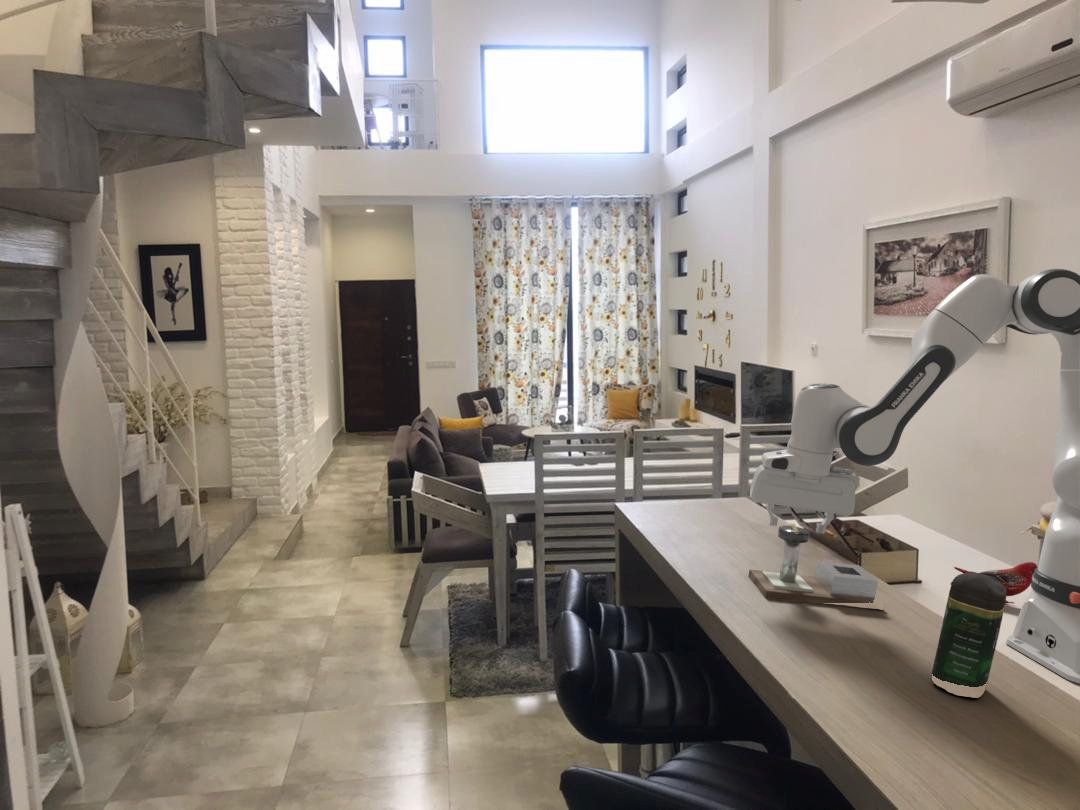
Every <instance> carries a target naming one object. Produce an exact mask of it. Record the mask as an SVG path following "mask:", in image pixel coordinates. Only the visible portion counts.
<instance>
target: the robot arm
mask: <svg viewBox="0 0 1080 810" xmlns="http://www.w3.org/2000/svg"><path fill="white" fill-rule="evenodd" d="M1004 327H1006V328H1009V329H1012V330H1015V331H1017V332H1020V333H1023V334H1027V335H1035V336H1036V335H1046V334H1048V335H1049V334H1051V335H1052V336H1053V337H1054V338H1055V339H1056V341H1057V343H1058V346H1059V350H1060V353H1061V356H1060V368H1059V369H1060V370H1059V371H1060V375H1059V376H1060V377H1059V379H1060V380H1059V381H1060V382H1059V383H1060V384H1059V385H1060V387H1059V418H1058V424H1057V430H1056V436H1055V447H1054V453H1053V454H1054V455H1053V466H1052V467H1053V468H1052V469H1053V470H1052V477H1051V478H1052V486H1053V490H1054V491H1055V493H1056V495H1057V499H1056V502H1055V505H1054V509H1053V511H1052V513H1051V516H1050V518H1049V522H1048V525H1047V526H1046V530H1045V535H1044V539H1043V543H1042V548H1041V552H1040V556H1039V561H1038V565H1037V567H1038V568H1036V569H1035V571H1034V574H1033V576H1032V583H1031V584H1030V587H1031V592H1030V594H1029V595H1028V597H1027V598H1026V599H1025V600H1024V602H1023V604H1022V606H1021V608H1020V611H1019V614H1018V617H1017V620H1016V622H1015V626H1014V628H1013V632H1012V634H1011V635H1009V636H1007V638H1006V640H1005V644H1006V645H1008V646H1009V647H1011V648H1012V649H1015V650H1017V651H1018V652H1020V653H1021V654H1023V655H1025V656H1026V657H1027V658H1028V657H1029V658H1030V659H1031V660H1034V661H1035V662H1037V663H1039V664H1040V665H1042V666H1044V667H1045V668H1047V669H1049V670H1051V671H1052V672H1053V673H1056V674H1057V675H1059V676H1061V677H1062V678H1064V679H1066V680H1067V681H1069V682H1072V683H1075V684H1080V274H1078V273H1077V272H1075V271H1071V270H1069V269H1063V268H1051V269H1046V270H1042V271H1040V272H1038V273H1035V274H1032V275H1029V276H1028V277H1026V278H1025V279H1023V280H1021V281H1019V282H1018V283H1015V284H1009V283H1006V282H1005V281H1003V280H1002V279H1000V278H999V277H996V276H994V275H991V274H986V273H983V274H981V273H980V274H975V275H972V276H971V277H969V278H968V279H967V280H965V281H964V282H962V283H961V284H960V285H959V286H957V287H956V288H955V289H954V290H953V291H951V292H950V293H949V294H948V295H946V297H945V298H943V299H942V300H941V301H940V302H939V303H938V304H937V305H936V306H935V308H933V309H932V310H931V311H930V313H929V314H928V315H927V316H926V317H925V318H924V320H923V321H922V323H921V324H920V326H918V327H917V330H916V331H915V333H914V334H913V336H912V338H911V341H910V342H911V343H910V347H911V348H910V349H911V351H910V359H909V362H908V364H907V366H906V368H905V369H904V371H903V372H902V374H901V375H900V376H899V377H898V378H897V379H896V381H894V383H893V384H892V385H891V386H890V387H889V389H888V390H887V391H885V393H884V394H883V395H882V396H881V397H880V399H879V400H878V401H877V402H876V403H875V404H874V405H872V406H868V405H866V404H865V403H862V402H860V401H859V400H858V399H855V398H854V397H852V396H851V395H849V394H848V393H847V392H846V391H844V390H843V388H842V387H840V385H837V384H834V383H813V384H808V385H805V386H803V388H801V389H800V390H799V392H798V394H797V396H796V399H795V403H794V407H793V409H792V410H793V412H792V416H791V421H790V429H791V434H790V437H789V439H788V442H787V445H786V449H782V450H773V451H768V452H764V453H763V454H762V456H761V463H762V464H760V465H759V466H758V467H757V468H756V470H755V472H754V475H753V477H752V481H751V484H750V490H749V495H750V498H751V500H753V502H754V503H755V502H756V503H762V504H765V508H766V510H767V512H768V515H769V518H768V525H769V526H770V527H771V526H772V527H778V522H779V518H778V516H777V515H774V514H773V511H774V510H775V505H777V506H782V507H789V508H794V509H795V508H796V509H801V510H807V511H808V510H809V511H814V512H815V511H816V512H820V513H824V516H825V518H824V519H823V520H822V521H821V522H816V527H815V532H816V533H817V534H821V535H825V533H826V528H827V527H828V525H829V524H830V523H831V522H832V521H833V520H834V517H835V515H842V516H851V515H852V514H853V513H854V511H855V505H856V491H857V490H858V488H859V485H860V476H859V474H858V473H857V472H856V471H854V470H853V469H851V468H843V467H839V466H833V465H832V461H833V456H834V450H835V449H841V451H842V453H843V455H844V456H845V457H846V458H847V459H848V460H850V461H851V462H853V463H855V464H857V465H860V466H866V467H872V466H876V465H877V466H878V465H880V464H883V463H885V462H887V460H889V459H890V458H891V457H892V456H893V455H894V454H895V452H896V450H897V448H898V445H899V443H900V440H901V436H902V433H903V432H904V430H905V427H907V425H908V423H909V422H910V421H911V420H912V419H913V418H914V417H915V415H916V414H917V413H918V412H919V410H920V409H921V408H922V407H923V406H924V405H925V404H926V403H927V402H928V400H929V399H930V398H931V397H932V396H933V395H934V394H935V393H936V391H937V390H938V389H939V388H940V386H941V385H942V384H943V383H944V382H945V381H947V380H948V379H949V378H950V377H951V376H952V375H953V374H954V373H955V372H956V371H958V370H959V369H960V368H961V367H963V366H964V365H965V364H966V363H967V362H968V361H969V360H971V358H972V357H973V356H975V354H976V353H977V352H978V351H980V350H981V348H983V346H984V345H986V343H987V342H988V341H989V339H991V338H992V337H993V335H994V334H996V333H997V332H998V331H1000V330H1001V329H1003V328H1004ZM772 510H773V511H772Z"/></svg>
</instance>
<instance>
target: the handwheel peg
mask: <svg viewBox="0 0 1080 810" xmlns="http://www.w3.org/2000/svg"><path fill="white" fill-rule="evenodd" d="M777 536H778V538H780V539H781V540H784V542H783V548H782V556H781V563H780V570H779V573H780V576H779V579H780V580H781V581H783V582H787V583H794V582H795V580H796V575H797V572H798V566H799V557H800V551H801V544H805V543H808V542H809V540H810V531H809V530H807V529H805V528H803V527H799V526H796V524H795V523H790V524H789V525H780V526H779V527H778V532H777Z"/></svg>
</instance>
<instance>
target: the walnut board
mask: <svg viewBox="0 0 1080 810" xmlns="http://www.w3.org/2000/svg"><path fill="white" fill-rule="evenodd" d="M779 576H780V572H774V571H767V570H756V569H748V578H749V580H751V581H752V582H753V584H754V585H755V586H756V588H757V590H758V591H759V592H760V593H761V594H762V595H763V596H764V598H765V599H772V600H781V601H791V602H798V603H799V602H800V603H809V604H816V603H869V602H870V603H873V602H874V601H873V600H870V599H861V598H852V597H843V596H834V595H830V594H829V593H828V592H827V591H826V590H825V589H824V588H823V587H822V586H821V585H820V584H819V583H818V582H817V581H816V580H815V579H814V577H815V576H814V575H813V576H811V575H802V574H796V580H795V582H794V583H787V582H783V581H781V580H780V579H779Z"/></svg>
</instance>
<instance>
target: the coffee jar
mask: <svg viewBox="0 0 1080 810" xmlns="http://www.w3.org/2000/svg"><path fill="white" fill-rule="evenodd" d="M980 573H981V572H976V571H970V572H969V573H960V574H957V575H956V576H955V577H954V578H953V579H952V581H951V582H950V589H949V592H948V596H947V601H946V604H945V611H944V614H943V620H942V623H941V629H940V633H939V638H938V639H939V640H938V644H937V648H936V651H935V652H936V653H935V656H934V659H933V666H932V669H931V674H933V676H935V677H936V678H938V679H940V680H942V681H947V682H950V683H954V684H957V685H964V686H969V687H979V686H983V685H984V684H986V682H987V681H988V682H989V679H990V672H991V667H992V664H993V661H994V657H995V653H996V648H997V643H998V640H999V635H1000V630H1001V627H1002V621H1003V616H1004V611H1005V605H1006V604H1005V601H1006V600H1007V596H1006V594H1007V590H1006V588H1005V587H1004V586H1003V585H1002V584H1001V583H1000V582H999V581H998V579H996V578H994V577H990V576H987V575H983V574H980ZM988 682H987V683H988Z"/></svg>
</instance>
